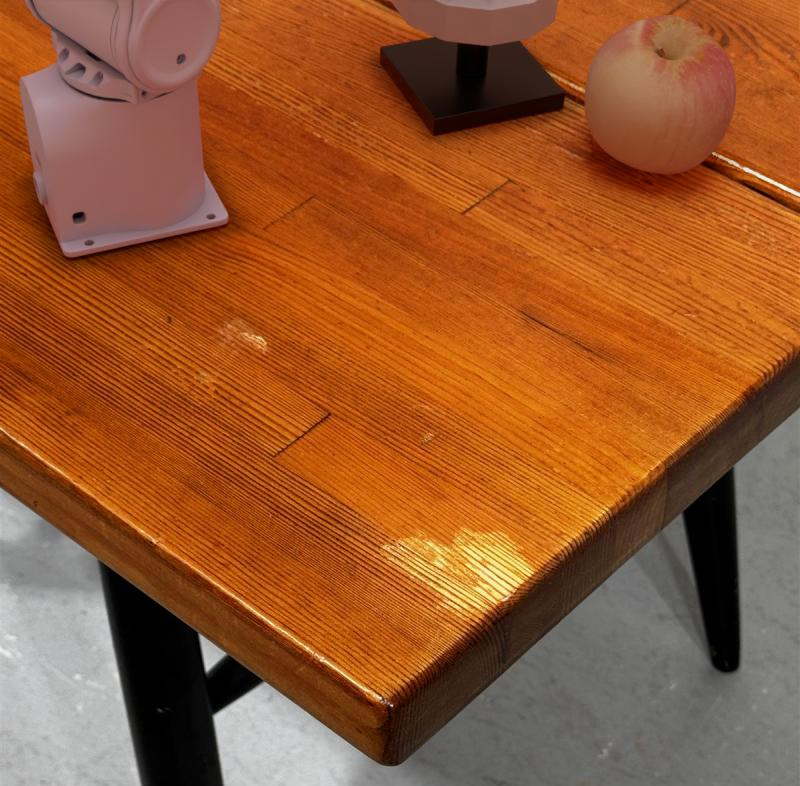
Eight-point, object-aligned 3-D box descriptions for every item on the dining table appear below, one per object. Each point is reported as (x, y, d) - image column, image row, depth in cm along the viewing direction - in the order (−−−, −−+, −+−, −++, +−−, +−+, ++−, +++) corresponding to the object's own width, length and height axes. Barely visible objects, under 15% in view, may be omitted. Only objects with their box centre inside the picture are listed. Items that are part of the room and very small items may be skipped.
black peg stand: (433, 136, 90) (438, 45, 85) (379, 62, 95) (381, -26, 91) (563, 109, 92) (575, 19, 88) (503, 39, 98) (511, -49, 93)
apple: (655, 102, 93) (676, -15, 87) (751, 171, 88) (780, 52, 82) (547, 142, 90) (562, 23, 84) (640, 216, 85) (662, 95, 79)
